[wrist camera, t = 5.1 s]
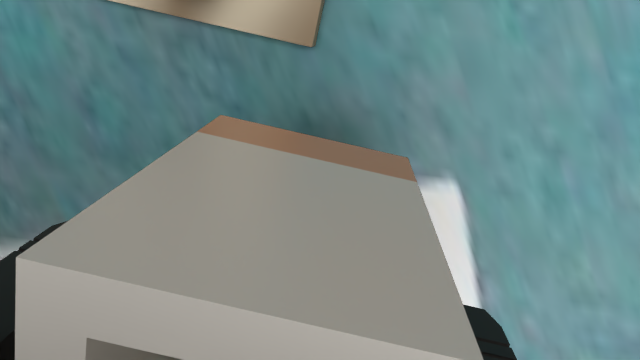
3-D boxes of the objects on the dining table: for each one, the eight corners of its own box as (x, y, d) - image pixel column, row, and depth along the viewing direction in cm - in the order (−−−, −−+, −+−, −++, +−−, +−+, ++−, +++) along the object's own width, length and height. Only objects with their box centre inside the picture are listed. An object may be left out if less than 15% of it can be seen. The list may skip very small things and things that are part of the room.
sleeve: (196, 279, 14) (12, 575, 7) (221, 114, 13) (14, 257, 5) (361, 317, 14) (367, 656, 7) (407, 157, 13) (485, 365, 5)
